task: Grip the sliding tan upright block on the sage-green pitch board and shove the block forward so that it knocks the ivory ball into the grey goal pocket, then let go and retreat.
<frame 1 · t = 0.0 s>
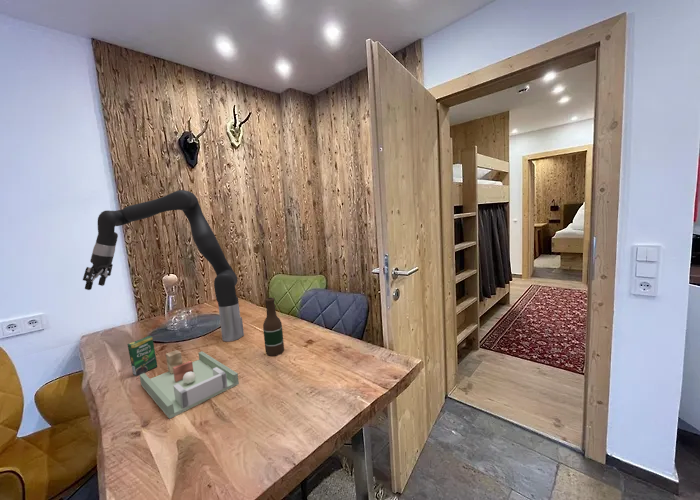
hand: (94, 287, 133), 31 cm above the table, tool tilted 20°, fingers open, 8 cm apart
beer bottle: (275, 352, 126), on the table
coffee box: (145, 371, 116), on the table
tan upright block: (178, 364, 110), point 5 cm above the table, slide at 0.0 cm
ball: (189, 377, 104), point 3 cm above the table, touching pitch
goal: (202, 396, 97), resting on pitch
pitch: (189, 384, 105), on the table
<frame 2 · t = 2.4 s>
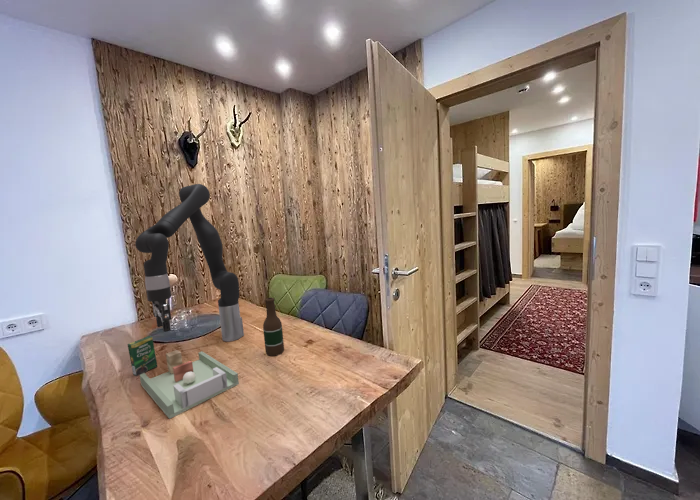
hand: (163, 328, 111), 18 cm above the table, tool pointing down, fingers open, 8 cm apart
nothing on the table moved.
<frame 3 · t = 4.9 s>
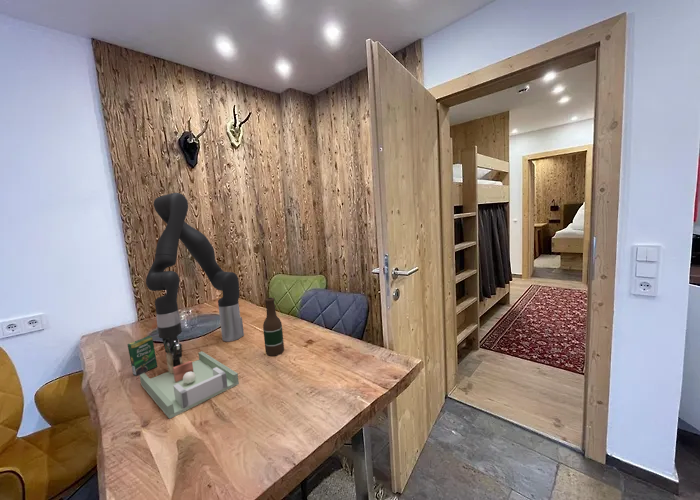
hand: (175, 365, 113), 3 cm above the table, tool pointing down, fingers closed on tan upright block, 4 cm apart
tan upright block: (178, 364, 110), point 5 cm above the table, slide at 0.0 cm, touching gripper
everything else where it was.
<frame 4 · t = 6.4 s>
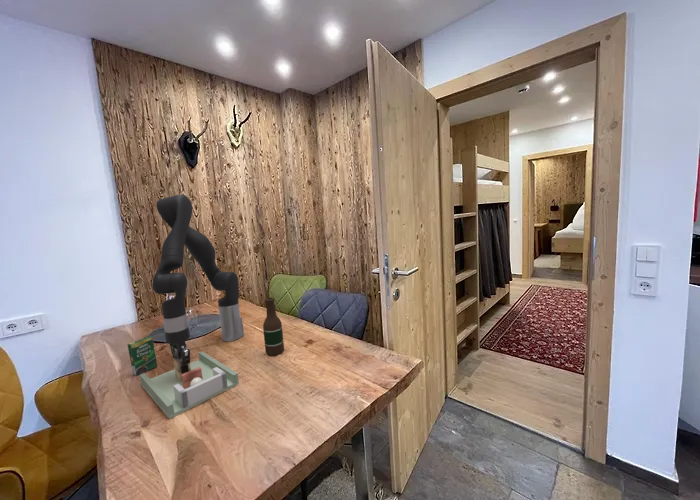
hand: (183, 371, 107), 3 cm above the table, tool pointing down, fingers closed on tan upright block, 4 cm apart
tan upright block: (186, 371, 105), point 5 cm above the table, slide at 8.2 cm, touching gripper
ball: (196, 383, 99), point 3 cm above the table, tilted 174°, touching pitch
everything else where it was.
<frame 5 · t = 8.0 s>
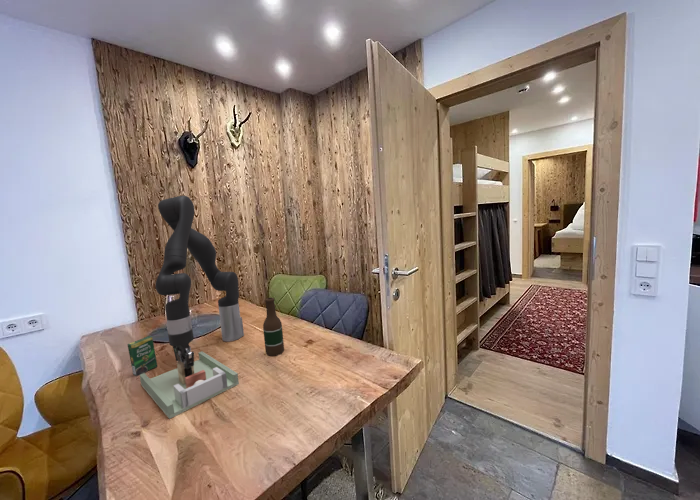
hand: (186, 374, 105), 3 cm above the table, tool pointing down, fingers closed on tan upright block, 4 cm apart
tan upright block: (190, 373, 102), point 5 cm above the table, slide at 11.5 cm, touching gripper
ball: (199, 386, 97), point 3 cm above the table, tilted 101°, touching pitch
everything else where it was.
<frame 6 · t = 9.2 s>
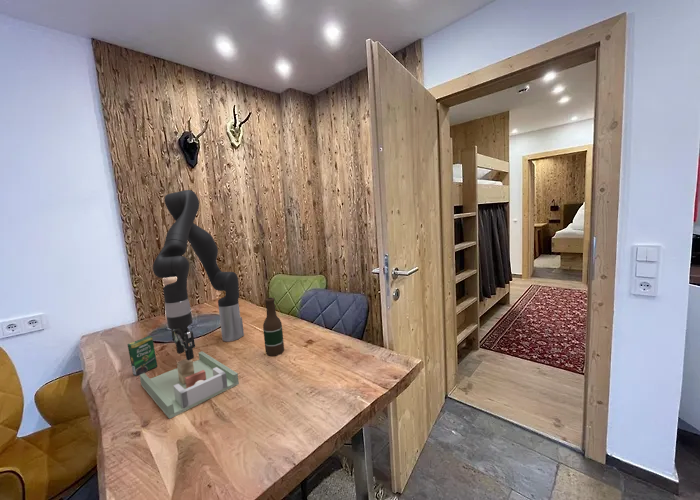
hand: (185, 355, 105), 10 cm above the table, tool pointing down, fingers open, 8 cm apart
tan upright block: (190, 373, 102), point 5 cm above the table, slide at 11.5 cm
ball: (200, 386, 97), point 3 cm above the table, tilted 95°, touching pitch
everything else where it was.
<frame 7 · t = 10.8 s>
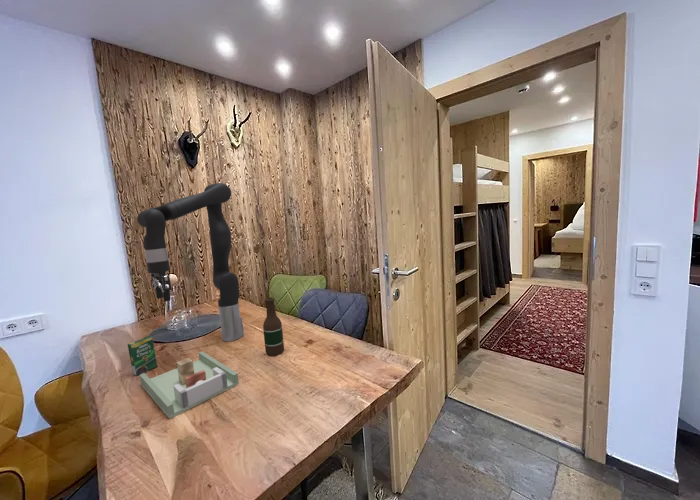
hand: (163, 299, 118), 28 cm above the table, tool pointing down, fingers open, 8 cm apart
ball: (200, 386, 97), point 3 cm above the table, tilted 86°, touching pitch
everything else where it was.
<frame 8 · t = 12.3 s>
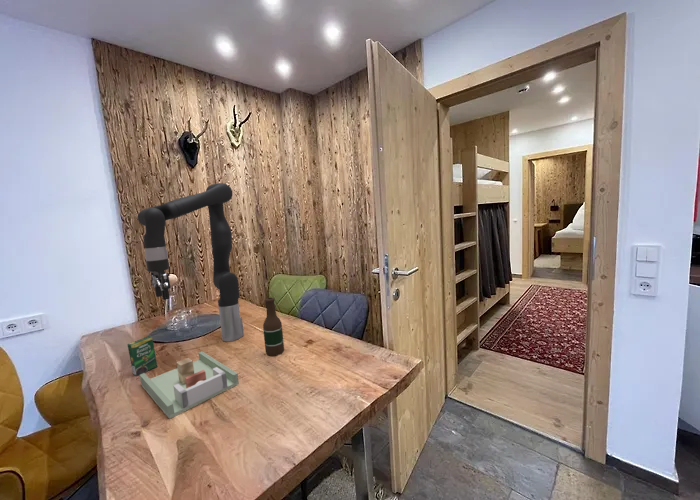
hand: (162, 297, 119), 28 cm above the table, tool pointing down, fingers open, 8 cm apart
ball: (200, 387, 97), point 3 cm above the table, tilted 79°, touching pitch
everything else where it was.
at the end: ball inside the target area (0.4 cm from its centre), point 3.0 cm above the table; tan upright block slide at 11.5 cm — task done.
